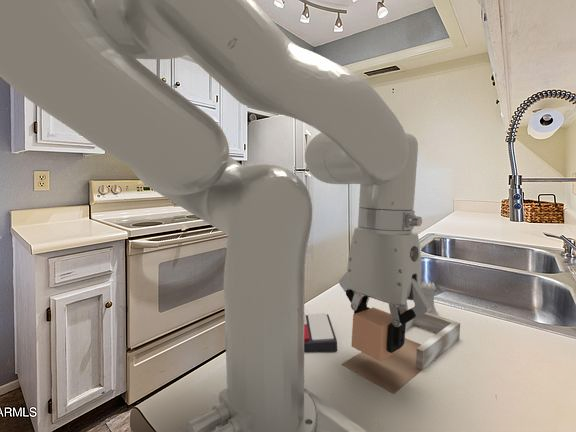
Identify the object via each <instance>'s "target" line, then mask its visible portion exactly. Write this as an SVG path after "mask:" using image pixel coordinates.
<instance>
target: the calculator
mask: <svg viewBox="0 0 576 432" xmlns="http://www.w3.org/2000/svg"><path fill="white" fill-rule="evenodd" d="M334 352H335V353H336V352H338V341H337V337H336V334H335V331H334V327H333V325H332V321H331V318H330V315H329V314H328V313H324V312H323V313H308V314H306V313H304V353H334Z"/></svg>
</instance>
